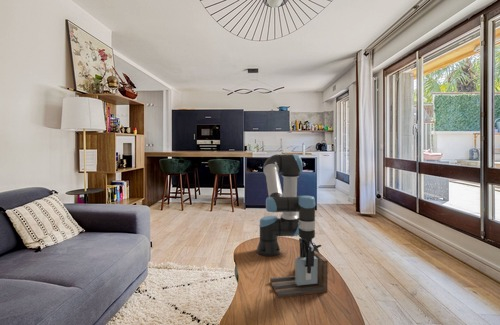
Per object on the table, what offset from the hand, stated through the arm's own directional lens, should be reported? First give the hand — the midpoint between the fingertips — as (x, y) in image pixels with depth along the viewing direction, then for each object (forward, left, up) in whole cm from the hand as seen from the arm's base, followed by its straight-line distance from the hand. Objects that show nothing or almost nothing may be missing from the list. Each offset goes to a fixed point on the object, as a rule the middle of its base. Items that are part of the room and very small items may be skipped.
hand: (306, 277), depth 127 cm
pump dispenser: (-21, +12, -7) cm, 25 cm away
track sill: (-4, -3, -6) cm, 8 cm away
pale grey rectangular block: (0, 0, -3) cm, 3 cm away
